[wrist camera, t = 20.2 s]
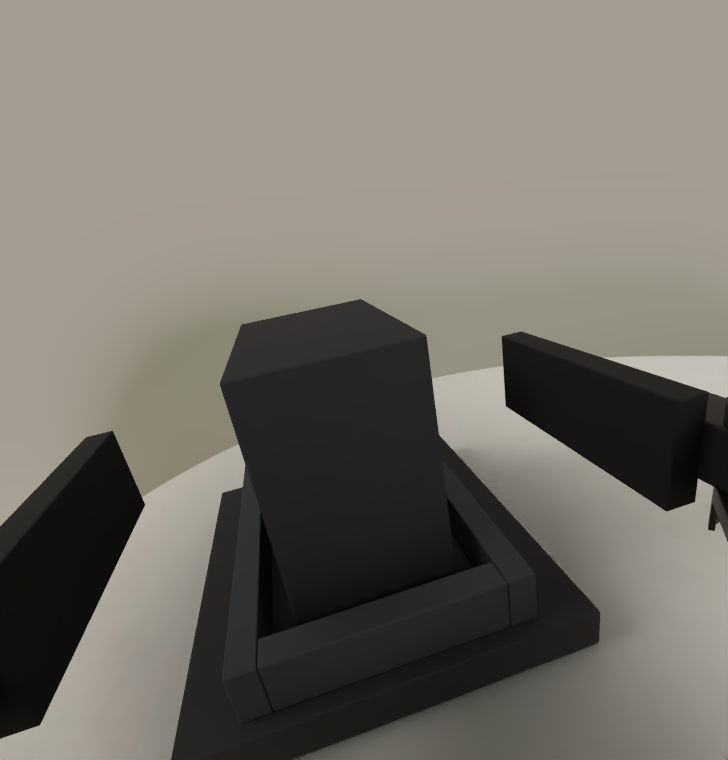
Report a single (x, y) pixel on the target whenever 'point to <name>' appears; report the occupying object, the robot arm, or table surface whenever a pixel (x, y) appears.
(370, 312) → the pad block
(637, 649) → the table surface
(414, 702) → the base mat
